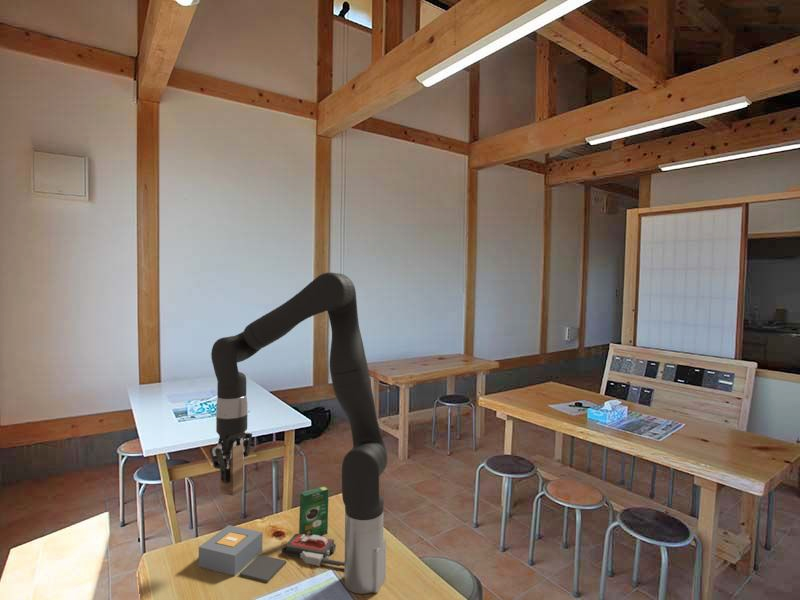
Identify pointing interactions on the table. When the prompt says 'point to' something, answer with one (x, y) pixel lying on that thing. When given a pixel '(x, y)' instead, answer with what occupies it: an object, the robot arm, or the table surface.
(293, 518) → the table surface
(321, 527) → the coffee box
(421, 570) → the table surface
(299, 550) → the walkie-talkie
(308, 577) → the table surface
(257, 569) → the mat
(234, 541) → the button
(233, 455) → the tall cardboard-brown rectangular prism
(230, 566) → the box
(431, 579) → the table surface
